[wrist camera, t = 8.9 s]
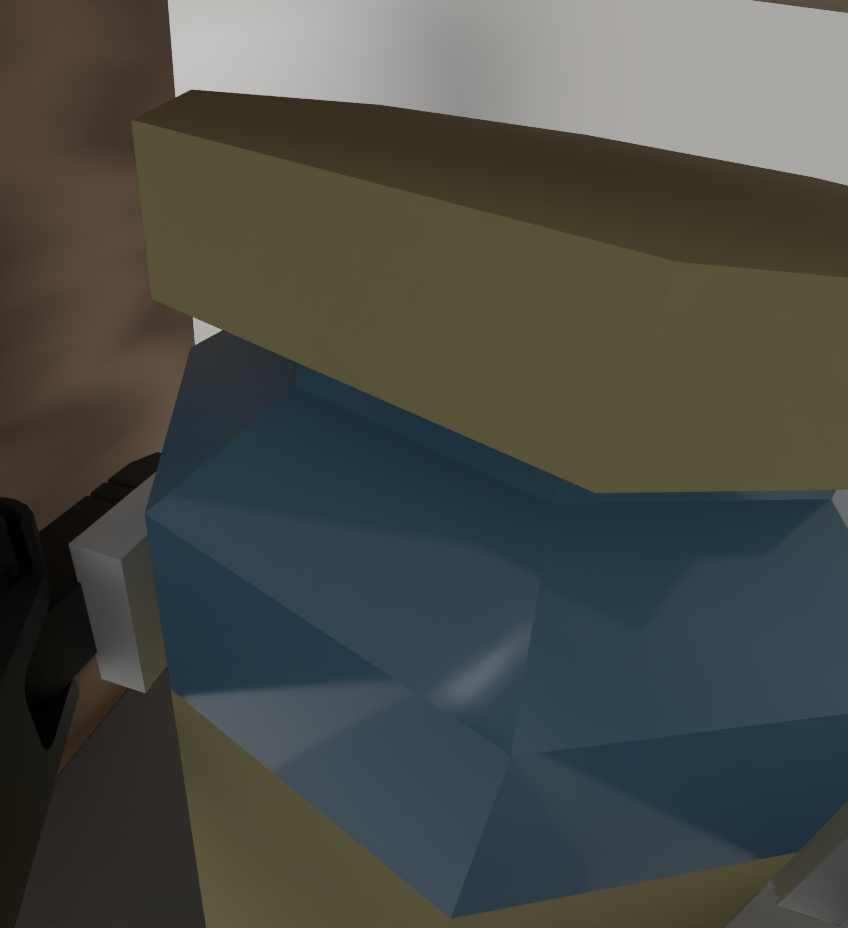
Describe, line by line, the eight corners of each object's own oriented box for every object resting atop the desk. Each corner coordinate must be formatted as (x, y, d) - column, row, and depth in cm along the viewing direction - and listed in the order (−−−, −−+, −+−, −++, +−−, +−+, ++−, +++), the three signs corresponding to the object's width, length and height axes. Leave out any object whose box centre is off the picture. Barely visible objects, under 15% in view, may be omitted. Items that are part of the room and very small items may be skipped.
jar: (598, 741, 18) (878, 182, 9) (631, 1246, 10) (2302, 575, 2) (297, 665, 18) (315, 88, 10) (109, 1079, 11) (-426, 71, 2)
